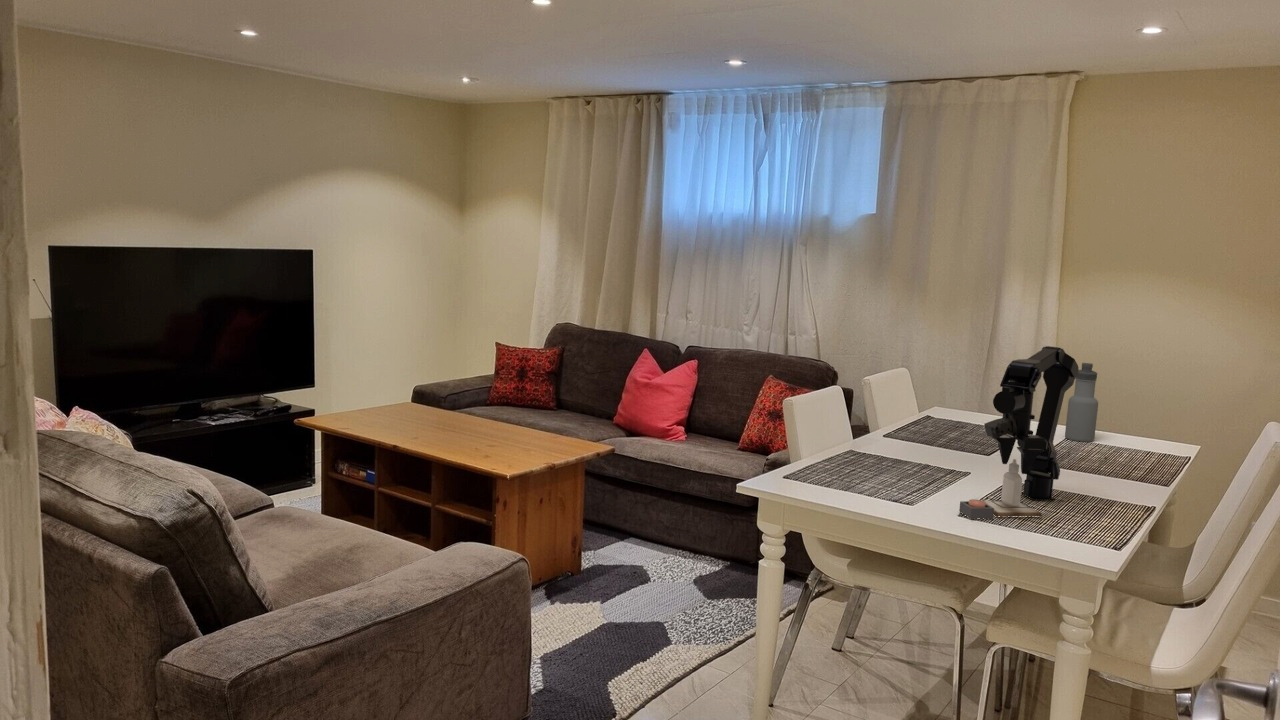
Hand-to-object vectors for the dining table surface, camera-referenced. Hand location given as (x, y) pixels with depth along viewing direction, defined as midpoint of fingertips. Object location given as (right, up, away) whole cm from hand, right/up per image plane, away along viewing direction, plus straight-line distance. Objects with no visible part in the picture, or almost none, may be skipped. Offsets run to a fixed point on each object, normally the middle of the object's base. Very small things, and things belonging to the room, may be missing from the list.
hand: (1013, 468), depth 239 cm
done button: (-12, -10, -6) cm, 16 cm away
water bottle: (+63, -1, +96) cm, 114 cm away
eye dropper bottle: (0, -10, +2) cm, 10 cm away
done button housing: (-12, -12, -6) cm, 17 cm away
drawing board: (-2, -11, 0) cm, 11 cm away
